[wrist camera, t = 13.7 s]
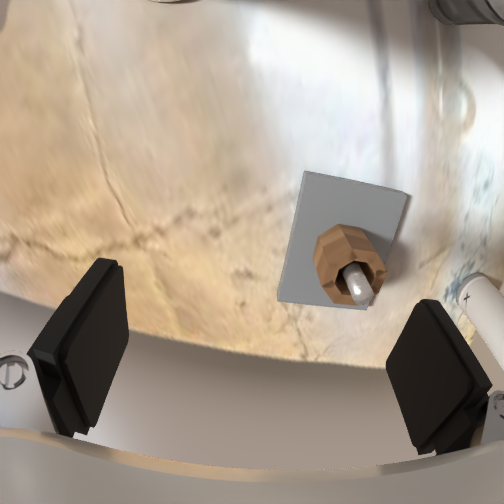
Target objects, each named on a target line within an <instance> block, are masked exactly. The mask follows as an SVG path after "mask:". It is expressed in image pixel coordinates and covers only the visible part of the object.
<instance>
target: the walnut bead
mask: <svg viewBox="0 0 504 504" xmlns="http://www.w3.org/2000/svg"><path fill="white" fill-rule="evenodd" d="M312 258H313V261H314V264H315V268H316V271H317V274H318V277H319V280H320V284H321V287H322V288H323V289H324V291H325V292H326V293H327V295H328V296H329V297H330V299H331V300H332V302H333V303H334V304H343V305H354V306H358V304H356V303H355V302H354V300H353V298H352V295H351V293H350V291H349V288H348V286H347V284H346V281H345V279H344V276H343V274H342V272H341V269H340V268H342V267H344V266H345V265H347V264H349V263H350V262H352V261H357V262H358V264H359V266H360V267H361V269H362V271H363V273H364V275H365V277H366V279H367V281H368V283H369V285H370V286H371V288H372V290H373V293H374V295H376V294H378V293H379V291H380V288H381V286H382V283H383V281H384V278H385V276H386V273H387V270H386V268H385V267H384V265H383V263H382V261H381V259H380V257H379V256H378V254H377V252H376V250H375V249H374V247H373V246H372V244H371V243H370V241H369V240H368V238H367V237H366V236H365V234H364V233H363V231H362V230H361V228H360V227H355V226H349V225H343V224H336V225H335V226H333V227H332V228H330V229H329V230H327V231H326V232H324V233H322V234H321V235H319V236H318V237H317V241H316V245H315V249H314V253H313V257H312Z"/></svg>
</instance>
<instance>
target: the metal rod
mask: <svg viewBox="0 0 504 504" xmlns="http://www.w3.org/2000/svg"><path fill="white" fill-rule="evenodd" d="M340 269H341V272H342V274H343V276H344V279H345V281H346V284H347V286H348V288H349V291H350V293H351V295H352V298H353V300H354V302H355V303H356V304H358V305H365V304H367V303H369V302H370V301H371V300H372V298H373V296H374V293H373V290H372V288H371V286H370V285H369V283H368V281H367V279H366V277H365V275H364V273H363V271H362V269H361V267H360V266H359V264H358V262H357V261H352V262H350V263H349V264H347V265H345V266H344V267H342V268H340Z"/></svg>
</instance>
